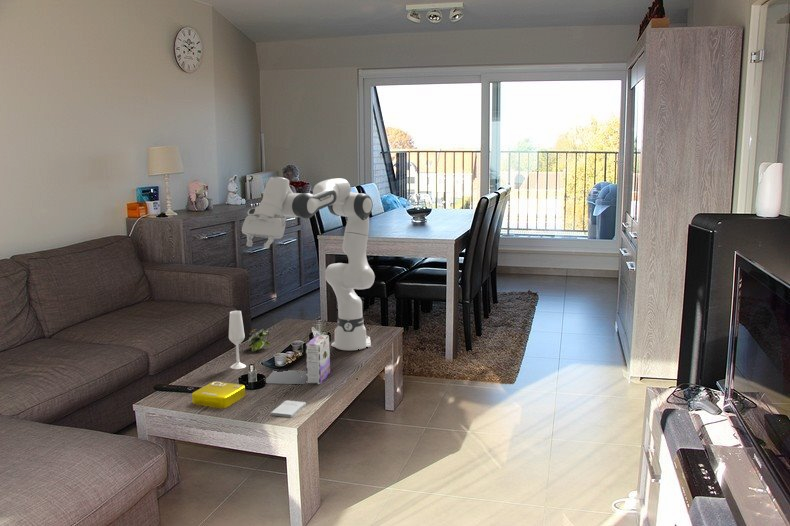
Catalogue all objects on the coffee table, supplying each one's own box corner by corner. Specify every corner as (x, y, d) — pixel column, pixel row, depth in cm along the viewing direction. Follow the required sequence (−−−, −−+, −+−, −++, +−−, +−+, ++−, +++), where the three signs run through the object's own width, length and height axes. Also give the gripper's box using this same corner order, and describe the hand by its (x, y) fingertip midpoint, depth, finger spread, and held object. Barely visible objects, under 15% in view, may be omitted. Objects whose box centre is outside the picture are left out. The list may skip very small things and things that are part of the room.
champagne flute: (243, 363, 303) (240, 309, 299) (248, 367, 297) (245, 312, 293) (228, 365, 300) (225, 311, 295) (233, 370, 294) (230, 314, 290)
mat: (274, 370, 293) (274, 369, 292) (313, 371, 290) (313, 371, 290) (262, 383, 277) (262, 382, 277) (304, 384, 275) (304, 384, 275)
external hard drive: (270, 416, 245) (285, 403, 257) (291, 419, 243) (306, 406, 254) (270, 412, 245) (285, 399, 256) (291, 414, 242) (305, 401, 254)
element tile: (190, 405, 256) (189, 392, 256) (214, 391, 270) (213, 379, 269) (225, 409, 251) (224, 397, 250) (247, 395, 265) (246, 383, 264)
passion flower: (254, 358, 327) (256, 334, 332) (275, 356, 324) (277, 331, 329) (242, 351, 317) (244, 326, 323) (263, 348, 314) (265, 323, 319)
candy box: (317, 372, 289) (315, 334, 287) (330, 373, 288) (329, 334, 285) (306, 383, 276) (304, 343, 273) (320, 384, 275) (319, 344, 272)
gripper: (292, 218, 271) (281, 252, 268) (255, 216, 283) (245, 247, 280) (282, 212, 266) (271, 246, 263) (245, 209, 278) (234, 242, 275)
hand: (257, 246), depth 271 cm, fingers open, 8 cm apart
